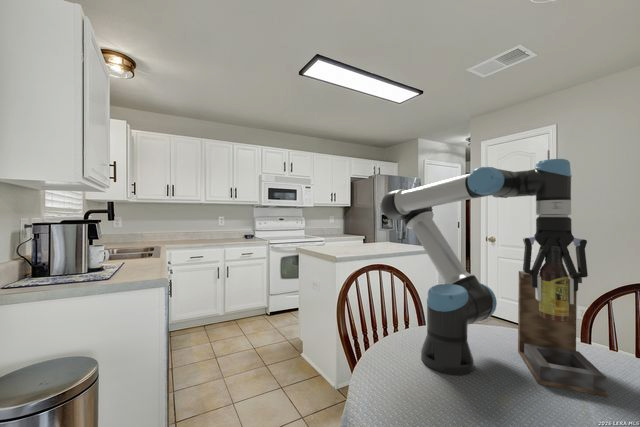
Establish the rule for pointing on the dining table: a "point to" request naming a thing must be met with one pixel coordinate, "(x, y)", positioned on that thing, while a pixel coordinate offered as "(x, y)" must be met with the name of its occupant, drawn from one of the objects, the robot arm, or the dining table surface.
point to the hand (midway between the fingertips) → (553, 301)
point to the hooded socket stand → (553, 346)
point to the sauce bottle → (554, 287)
